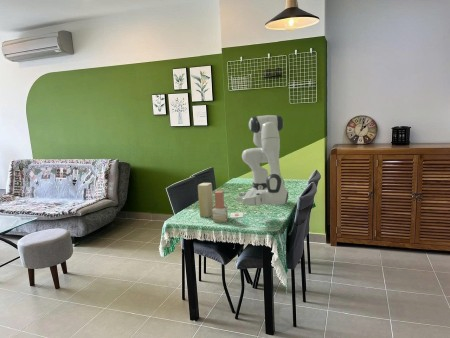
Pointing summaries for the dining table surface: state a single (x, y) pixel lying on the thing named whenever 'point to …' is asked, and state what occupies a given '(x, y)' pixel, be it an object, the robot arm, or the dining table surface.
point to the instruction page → (236, 215)
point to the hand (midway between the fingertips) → (238, 196)
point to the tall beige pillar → (205, 199)
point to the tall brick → (219, 199)
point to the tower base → (220, 219)
